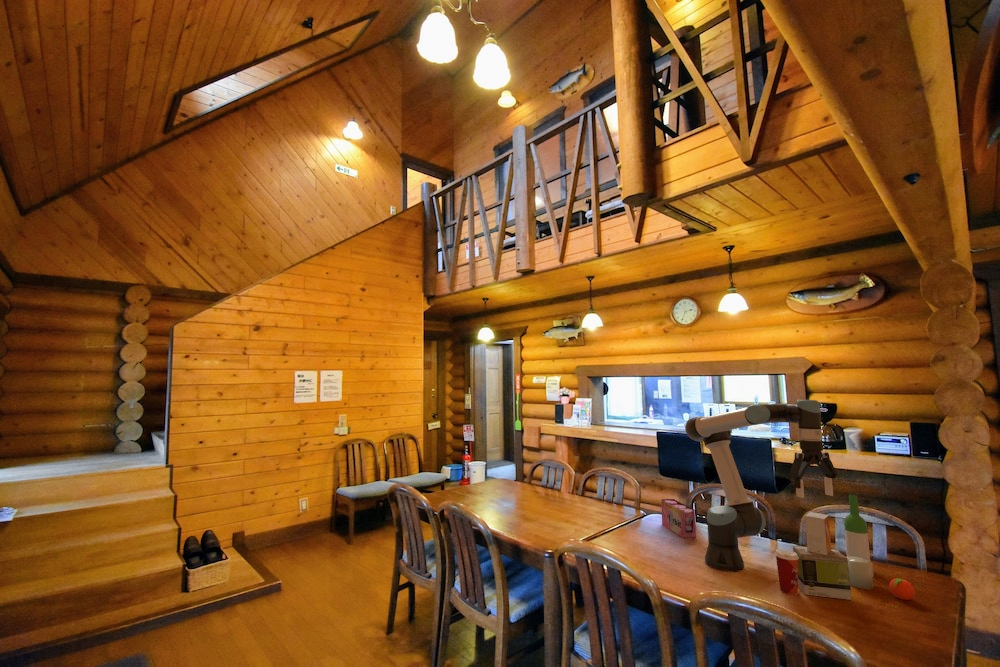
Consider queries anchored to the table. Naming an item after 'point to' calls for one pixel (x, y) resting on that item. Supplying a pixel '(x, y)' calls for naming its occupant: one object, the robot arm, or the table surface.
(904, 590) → the strawberry
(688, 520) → the gum box
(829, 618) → the table surface
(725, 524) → the robot arm
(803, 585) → the tea box
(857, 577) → the sage mug
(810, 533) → the small box
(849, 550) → the wine bottle
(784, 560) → the paper cup
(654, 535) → the table surface
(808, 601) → the table surface
